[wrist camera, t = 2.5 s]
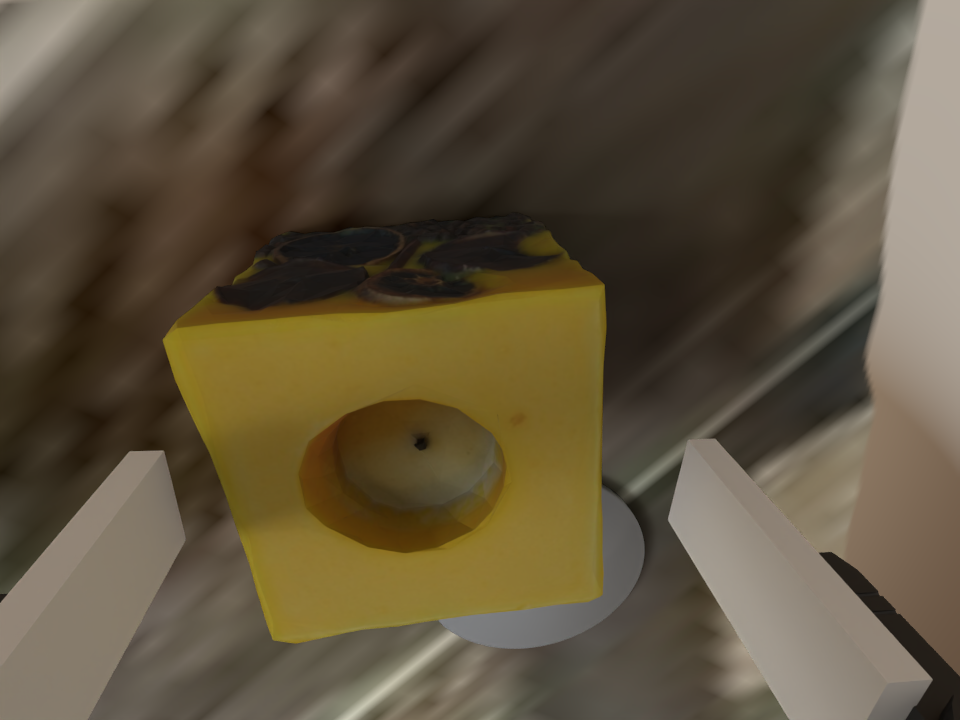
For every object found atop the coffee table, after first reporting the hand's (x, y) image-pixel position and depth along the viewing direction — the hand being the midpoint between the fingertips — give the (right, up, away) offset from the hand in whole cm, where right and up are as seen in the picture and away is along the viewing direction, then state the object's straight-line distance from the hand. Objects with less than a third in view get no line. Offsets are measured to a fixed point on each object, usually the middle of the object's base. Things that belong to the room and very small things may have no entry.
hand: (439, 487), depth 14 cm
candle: (-2, +4, +9) cm, 10 cm away
